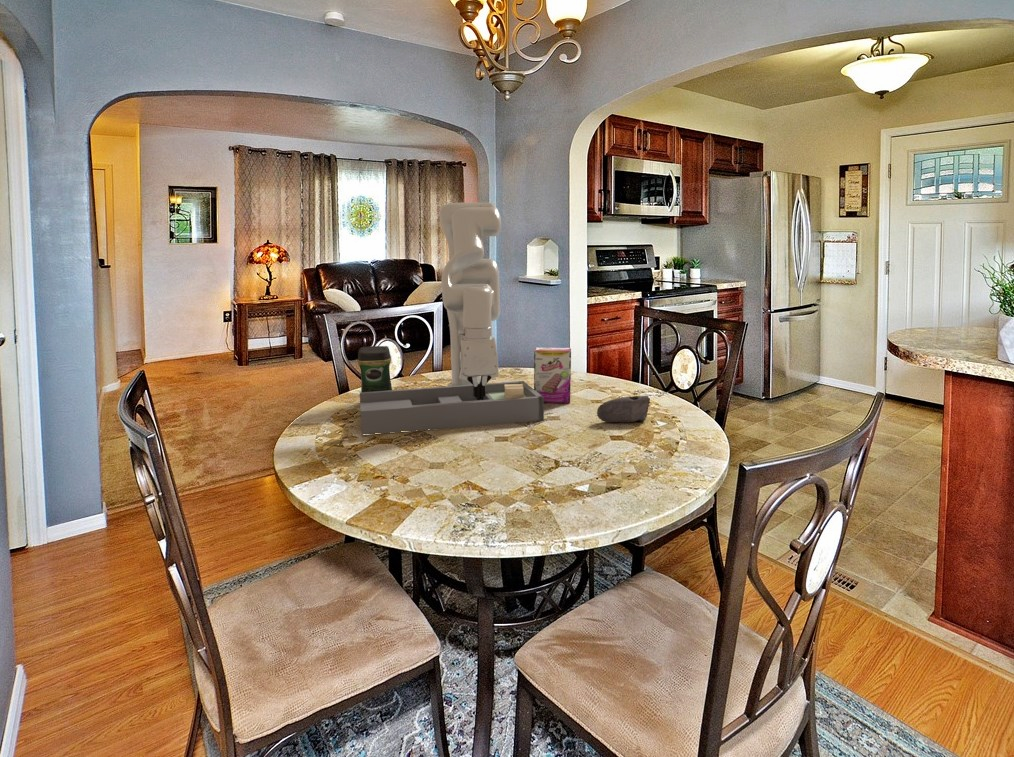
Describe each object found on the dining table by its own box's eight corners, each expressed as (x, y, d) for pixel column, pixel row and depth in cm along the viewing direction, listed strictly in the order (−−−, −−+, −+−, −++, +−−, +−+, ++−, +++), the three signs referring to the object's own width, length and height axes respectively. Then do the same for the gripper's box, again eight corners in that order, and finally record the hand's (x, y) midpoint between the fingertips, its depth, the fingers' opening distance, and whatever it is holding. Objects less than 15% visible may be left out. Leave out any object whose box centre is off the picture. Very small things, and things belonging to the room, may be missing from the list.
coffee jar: (395, 403, 190) (391, 343, 186) (392, 410, 183) (389, 348, 179) (363, 404, 190) (359, 344, 185) (359, 411, 182) (355, 349, 178)
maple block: (504, 401, 174) (504, 384, 173) (522, 401, 174) (522, 384, 173) (505, 406, 169) (505, 388, 168) (523, 406, 169) (523, 388, 168)
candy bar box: (533, 403, 188) (533, 350, 184) (534, 399, 192) (534, 347, 189) (570, 403, 186) (571, 350, 183) (570, 399, 191) (571, 347, 188)
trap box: (361, 414, 179) (359, 392, 177) (523, 401, 190) (523, 380, 188) (362, 436, 159) (360, 411, 157) (543, 420, 170) (543, 397, 169)
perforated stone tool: (598, 426, 164) (599, 400, 163) (594, 420, 170) (594, 395, 168) (654, 423, 166) (655, 398, 164) (648, 418, 171) (648, 393, 169)
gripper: (452, 337, 162) (454, 404, 166) (508, 334, 165) (509, 400, 169) (448, 332, 169) (450, 397, 173) (501, 329, 172) (502, 393, 176)
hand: (479, 399), depth 171 cm, fingers closed
